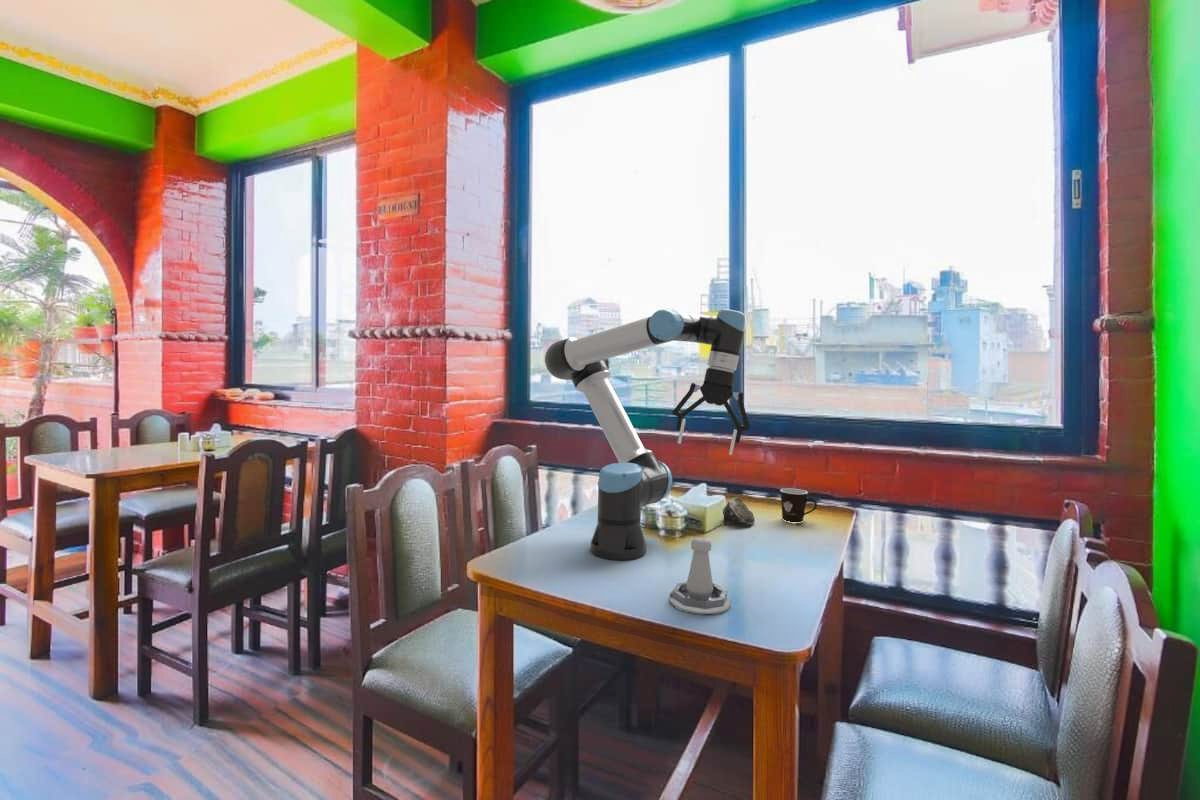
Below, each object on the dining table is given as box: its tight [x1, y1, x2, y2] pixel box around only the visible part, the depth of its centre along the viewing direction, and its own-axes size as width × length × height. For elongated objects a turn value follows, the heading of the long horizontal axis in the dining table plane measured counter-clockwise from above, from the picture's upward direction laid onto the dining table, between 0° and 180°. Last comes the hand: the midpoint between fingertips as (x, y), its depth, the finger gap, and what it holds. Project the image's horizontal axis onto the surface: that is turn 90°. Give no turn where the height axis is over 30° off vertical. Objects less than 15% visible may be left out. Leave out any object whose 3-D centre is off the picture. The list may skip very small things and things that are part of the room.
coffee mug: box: [779, 487, 818, 522], centre depth 195 cm, size 12×9×10 cm
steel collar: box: [669, 581, 731, 615], centre depth 129 cm, size 13×13×2 cm
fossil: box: [722, 497, 756, 527], centre depth 192 cm, size 11×9×10 cm
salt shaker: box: [686, 537, 714, 600], centre depth 129 cm, size 6×6×13 cm
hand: (704, 448), depth 157 cm, fingers open, 13 cm apart
